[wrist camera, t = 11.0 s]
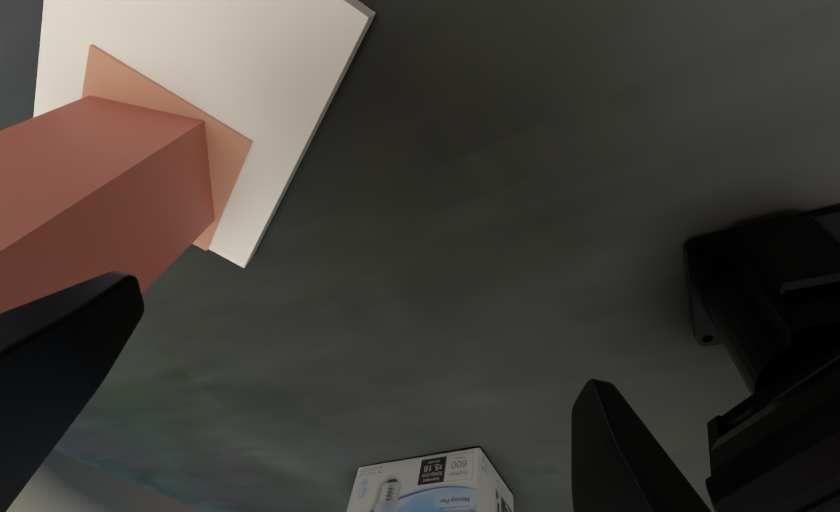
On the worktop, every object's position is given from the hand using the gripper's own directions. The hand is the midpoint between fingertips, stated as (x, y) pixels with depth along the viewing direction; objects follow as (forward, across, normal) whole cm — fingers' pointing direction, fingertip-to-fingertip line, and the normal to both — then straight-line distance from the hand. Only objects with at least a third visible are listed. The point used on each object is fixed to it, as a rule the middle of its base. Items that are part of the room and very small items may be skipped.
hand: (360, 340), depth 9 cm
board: (+13, +11, +1) cm, 17 cm away
